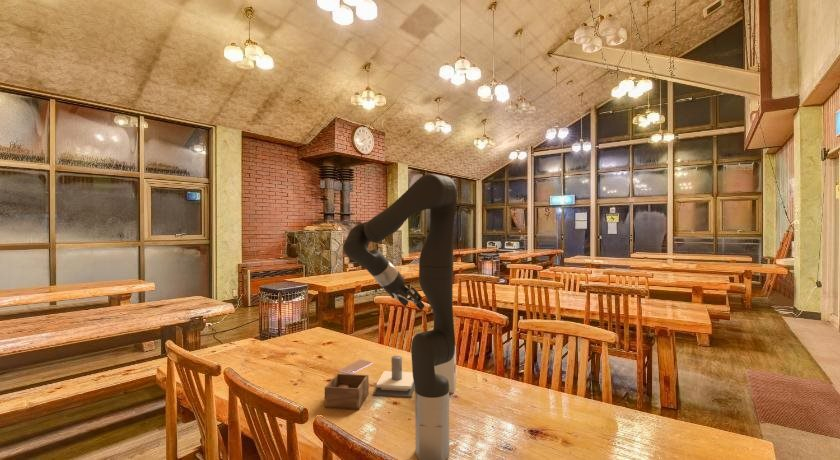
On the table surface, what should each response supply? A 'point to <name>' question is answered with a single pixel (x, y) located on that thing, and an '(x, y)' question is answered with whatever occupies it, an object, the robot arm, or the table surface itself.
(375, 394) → the rubber mat
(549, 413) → the table surface
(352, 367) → the mobile phone
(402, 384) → the lid
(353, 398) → the walnut box
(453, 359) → the supplement box
